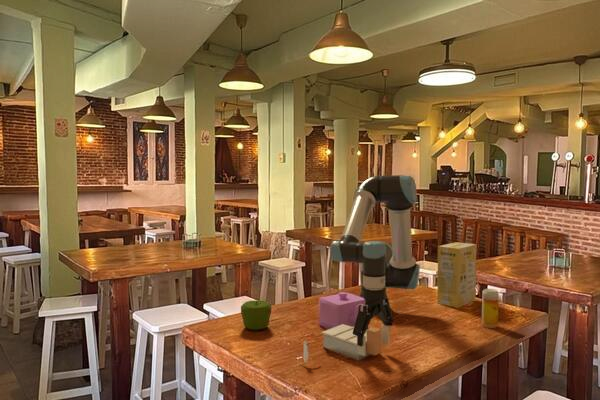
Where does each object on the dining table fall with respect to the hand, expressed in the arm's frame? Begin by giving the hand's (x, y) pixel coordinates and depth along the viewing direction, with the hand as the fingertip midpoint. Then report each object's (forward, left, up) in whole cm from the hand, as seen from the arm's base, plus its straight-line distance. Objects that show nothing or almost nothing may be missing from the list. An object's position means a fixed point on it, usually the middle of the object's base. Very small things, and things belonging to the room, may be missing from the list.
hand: (373, 349), depth 151 cm
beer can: (+15, +60, -3) cm, 62 cm away
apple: (-52, -9, -3) cm, 53 cm away
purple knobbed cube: (-27, +18, -4) cm, 33 cm away
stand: (-12, -19, -3) cm, 23 cm away
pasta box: (-11, +84, -3) cm, 85 cm away
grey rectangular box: (-10, 0, -3) cm, 11 cm away
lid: (-8, 0, -1) cm, 9 cm away
